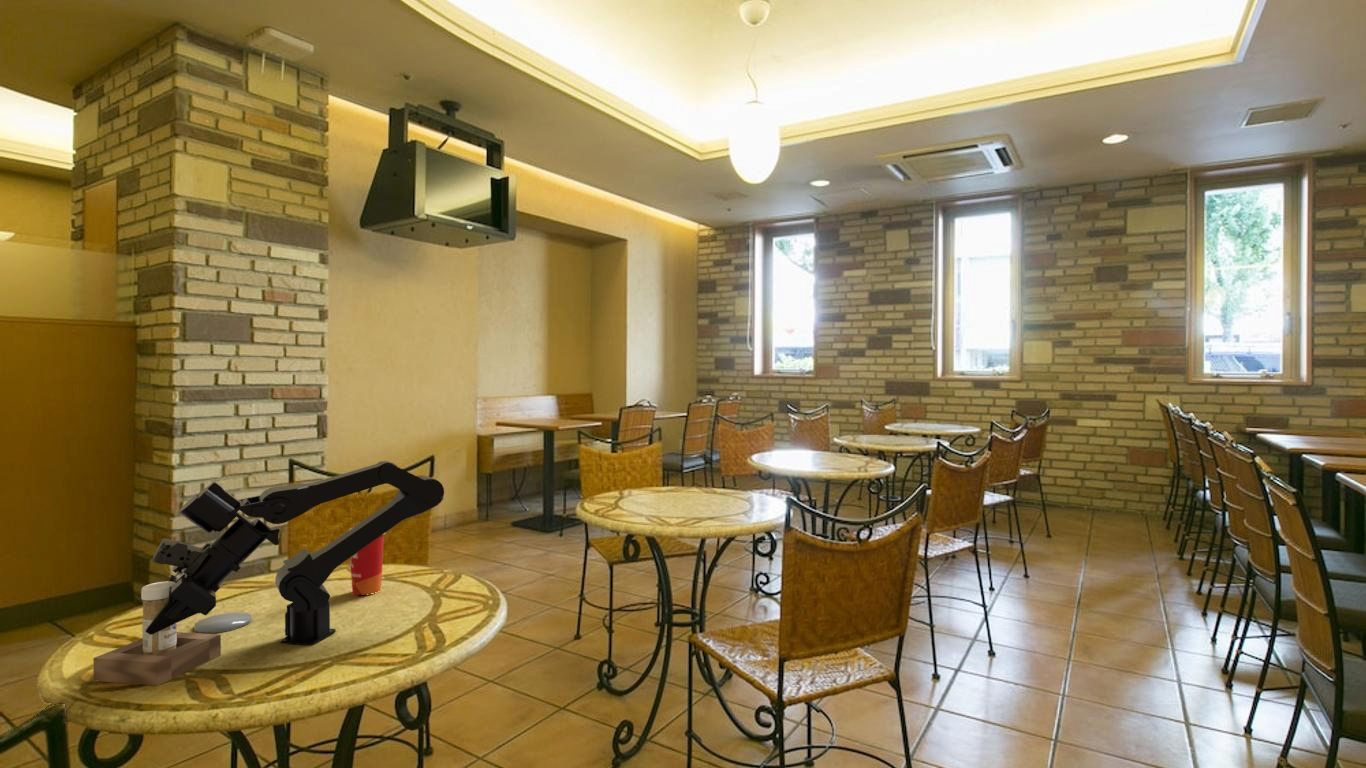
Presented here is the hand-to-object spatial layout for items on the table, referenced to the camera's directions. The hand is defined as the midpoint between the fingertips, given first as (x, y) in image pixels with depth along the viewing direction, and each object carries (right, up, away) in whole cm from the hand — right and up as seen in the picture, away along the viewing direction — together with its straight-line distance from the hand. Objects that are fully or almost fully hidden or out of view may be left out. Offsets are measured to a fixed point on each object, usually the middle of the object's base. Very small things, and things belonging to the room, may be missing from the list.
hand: (148, 628), depth 109 cm
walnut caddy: (+1, -7, +1) cm, 7 cm away
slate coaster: (-2, -6, +20) cm, 21 cm away
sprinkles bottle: (+1, -7, +1) cm, 7 cm away
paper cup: (+16, -7, +40) cm, 44 cm away
